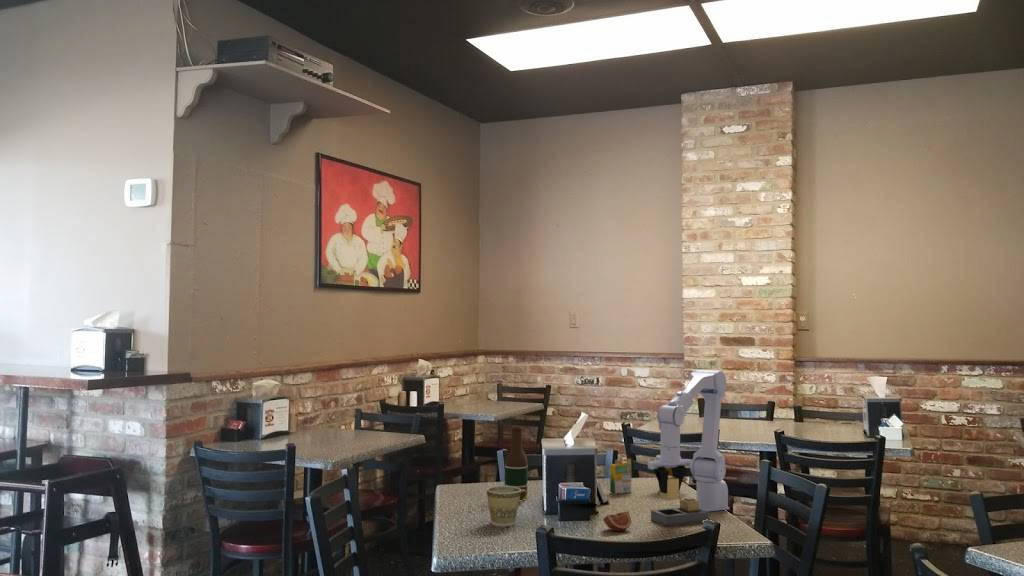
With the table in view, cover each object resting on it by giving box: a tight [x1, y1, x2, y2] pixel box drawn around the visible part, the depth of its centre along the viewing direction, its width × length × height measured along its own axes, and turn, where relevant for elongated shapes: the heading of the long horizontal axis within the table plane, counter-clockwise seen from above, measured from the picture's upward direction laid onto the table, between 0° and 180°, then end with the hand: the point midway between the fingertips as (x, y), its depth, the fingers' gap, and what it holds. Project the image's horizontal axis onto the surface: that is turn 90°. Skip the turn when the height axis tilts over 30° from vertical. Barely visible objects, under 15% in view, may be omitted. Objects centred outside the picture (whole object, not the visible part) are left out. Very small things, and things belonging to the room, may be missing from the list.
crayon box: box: [609, 458, 632, 495], centre depth 276 cm, size 7×3×12 cm, turn 120°
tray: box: [650, 496, 710, 528], centre depth 237 cm, size 15×8×6 cm, turn 114°
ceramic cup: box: [486, 485, 528, 528], centre depth 233 cm, size 13×10×10 cm
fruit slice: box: [603, 510, 632, 532], centre depth 226 cm, size 8×7×5 cm
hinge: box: [596, 479, 611, 506], centre depth 264 cm, size 17×5×10 cm, turn 21°
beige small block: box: [659, 476, 680, 501], centre depth 237 cm, size 4×4×6 cm
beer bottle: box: [504, 425, 529, 500], centre depth 264 cm, size 8×8×24 cm
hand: (670, 492), depth 236 cm, fingers closed on beige small block, 4 cm apart
